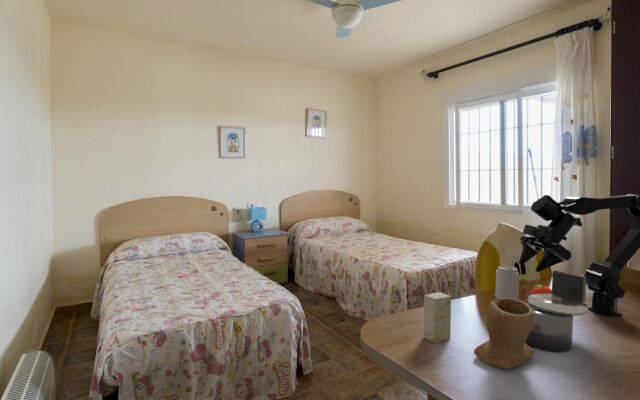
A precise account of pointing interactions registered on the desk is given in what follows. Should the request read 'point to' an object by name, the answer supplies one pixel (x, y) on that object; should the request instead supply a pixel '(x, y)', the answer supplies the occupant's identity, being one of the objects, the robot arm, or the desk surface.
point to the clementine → (541, 290)
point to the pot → (550, 331)
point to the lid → (563, 295)
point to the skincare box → (437, 317)
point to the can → (507, 282)
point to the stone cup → (507, 333)
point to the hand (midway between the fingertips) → (528, 267)
